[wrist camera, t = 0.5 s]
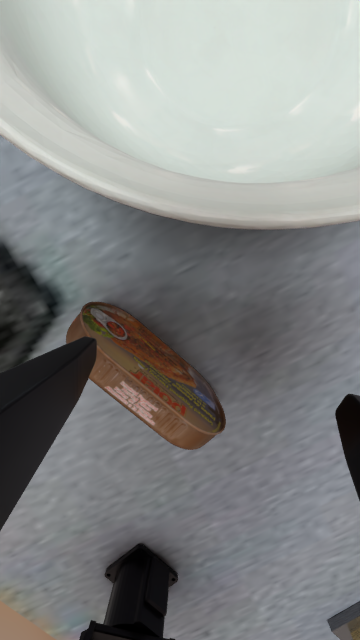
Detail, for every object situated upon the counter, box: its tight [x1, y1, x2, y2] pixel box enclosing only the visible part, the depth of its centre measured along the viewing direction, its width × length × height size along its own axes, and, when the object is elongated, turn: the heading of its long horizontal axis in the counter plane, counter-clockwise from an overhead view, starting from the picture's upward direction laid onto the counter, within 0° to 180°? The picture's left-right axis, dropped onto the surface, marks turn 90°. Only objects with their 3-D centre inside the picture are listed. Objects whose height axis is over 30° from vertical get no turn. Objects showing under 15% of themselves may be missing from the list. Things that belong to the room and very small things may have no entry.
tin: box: [66, 302, 226, 450], centre depth 22 cm, size 15×3×8 cm, turn 48°
